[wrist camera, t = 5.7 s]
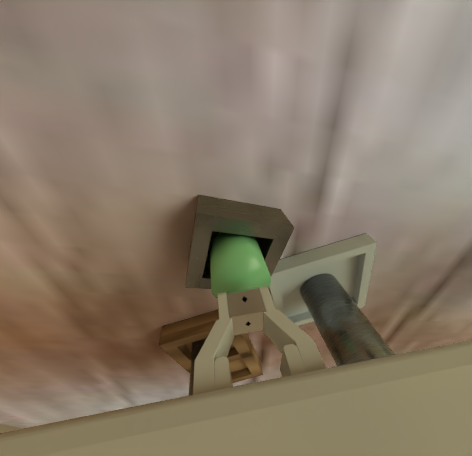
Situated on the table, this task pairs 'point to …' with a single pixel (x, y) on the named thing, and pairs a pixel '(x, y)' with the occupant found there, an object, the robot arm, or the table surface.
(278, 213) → the switch box
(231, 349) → the tray
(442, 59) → the table surface
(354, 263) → the square tray
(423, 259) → the table surface
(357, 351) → the cylinder
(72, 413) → the table surface
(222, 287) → the button
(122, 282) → the table surface
